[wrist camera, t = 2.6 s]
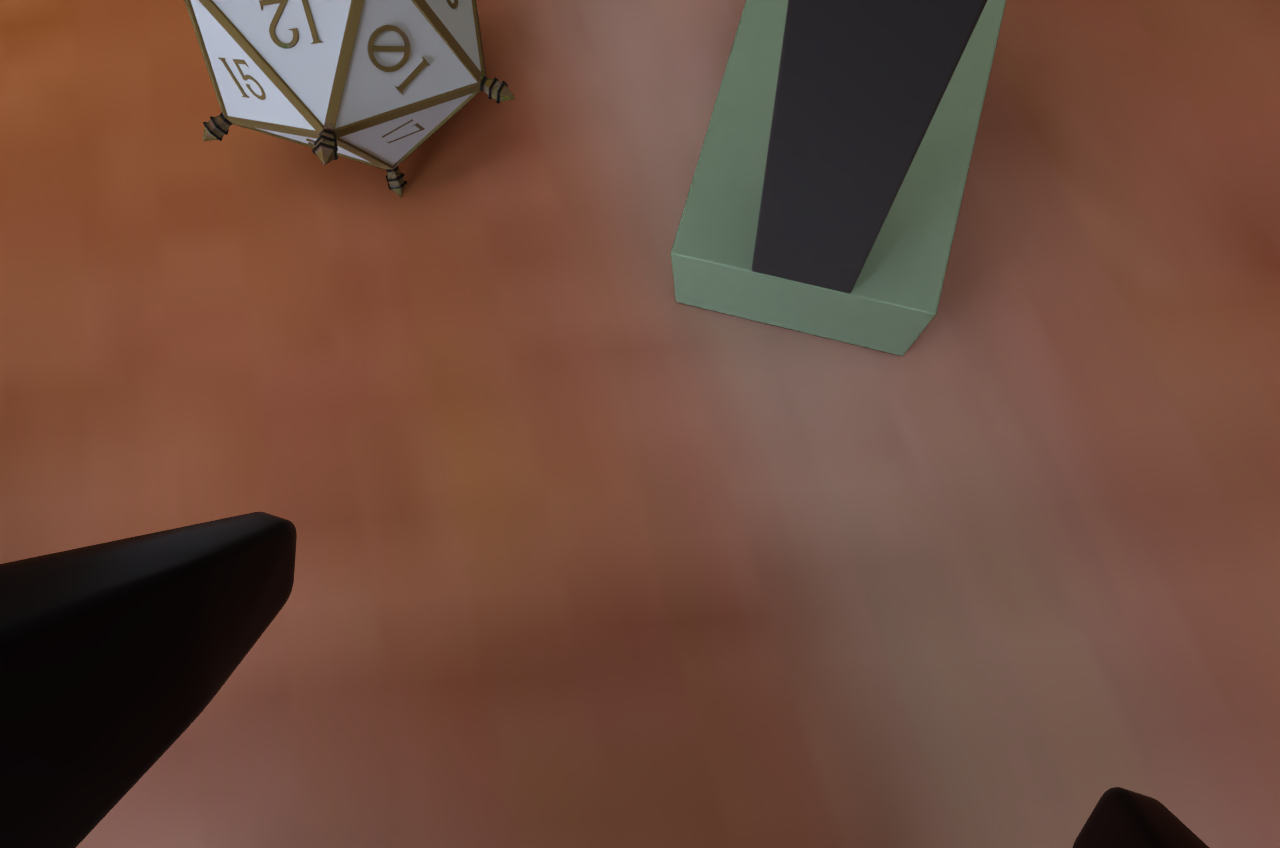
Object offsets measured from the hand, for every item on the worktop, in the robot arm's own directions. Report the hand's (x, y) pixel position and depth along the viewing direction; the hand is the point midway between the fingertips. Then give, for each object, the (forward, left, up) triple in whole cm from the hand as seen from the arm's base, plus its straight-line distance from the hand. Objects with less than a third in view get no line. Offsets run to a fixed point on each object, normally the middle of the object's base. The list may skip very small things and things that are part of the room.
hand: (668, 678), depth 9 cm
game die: (-1, +18, -12) cm, 22 cm away
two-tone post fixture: (+10, +10, -12) cm, 19 cm away
